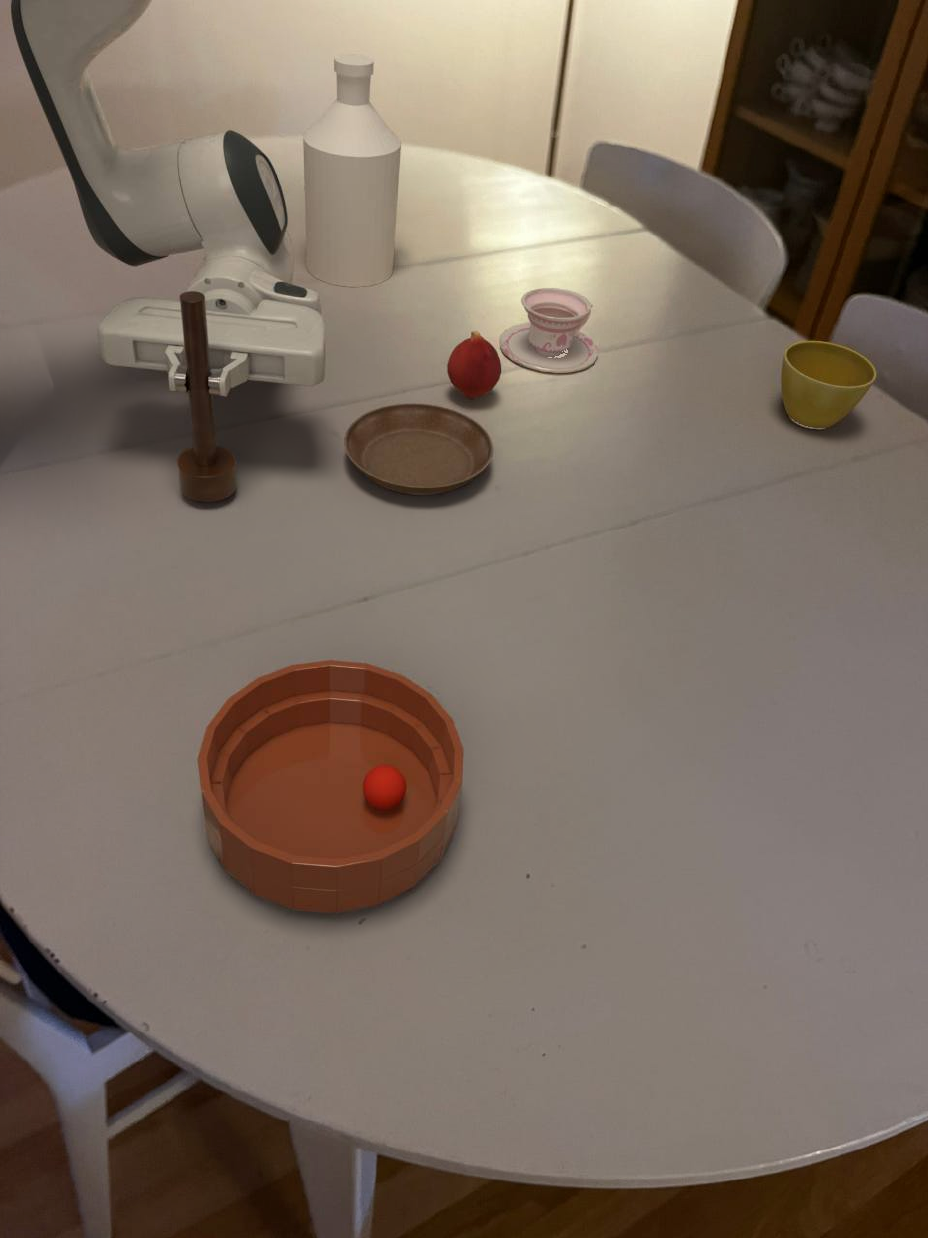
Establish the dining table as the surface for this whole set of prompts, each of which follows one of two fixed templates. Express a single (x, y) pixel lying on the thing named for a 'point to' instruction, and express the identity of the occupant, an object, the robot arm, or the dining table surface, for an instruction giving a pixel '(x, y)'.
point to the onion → (474, 366)
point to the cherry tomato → (384, 787)
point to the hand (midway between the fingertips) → (197, 386)
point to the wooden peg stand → (202, 414)
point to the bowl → (329, 785)
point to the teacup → (551, 332)
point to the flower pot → (823, 382)
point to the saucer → (418, 448)
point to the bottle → (351, 184)
